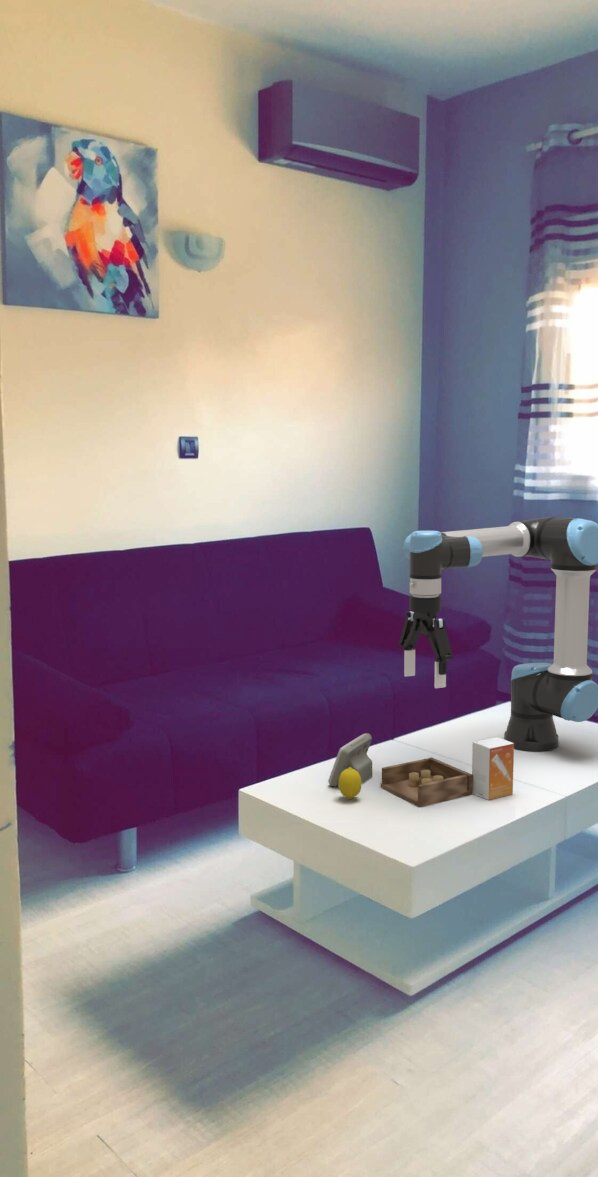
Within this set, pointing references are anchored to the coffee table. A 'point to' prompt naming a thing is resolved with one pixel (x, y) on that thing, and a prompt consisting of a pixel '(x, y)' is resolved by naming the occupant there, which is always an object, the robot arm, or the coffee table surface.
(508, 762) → the small box
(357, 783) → the lemon
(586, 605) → the robot arm
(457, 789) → the peg frame
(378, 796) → the coffee table surface
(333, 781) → the digital clock
